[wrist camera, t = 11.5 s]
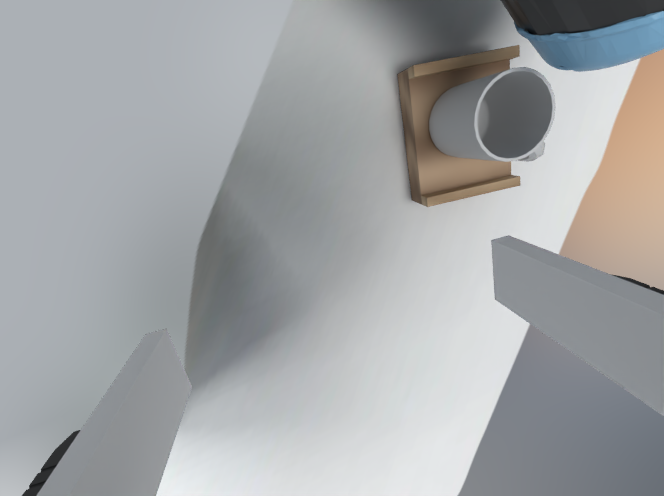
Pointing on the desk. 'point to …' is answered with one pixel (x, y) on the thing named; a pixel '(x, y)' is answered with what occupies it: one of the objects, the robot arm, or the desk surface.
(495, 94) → the cup
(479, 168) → the wooden tray
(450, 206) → the desk surface
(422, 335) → the desk surface
